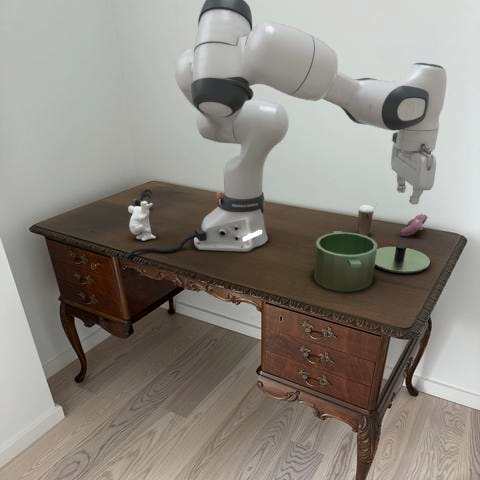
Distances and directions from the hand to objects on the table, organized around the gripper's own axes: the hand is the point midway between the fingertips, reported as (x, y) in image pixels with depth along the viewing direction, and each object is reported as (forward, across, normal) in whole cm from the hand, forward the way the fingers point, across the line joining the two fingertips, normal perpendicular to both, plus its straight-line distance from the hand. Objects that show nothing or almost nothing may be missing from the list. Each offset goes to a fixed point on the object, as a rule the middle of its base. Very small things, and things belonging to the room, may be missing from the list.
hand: (406, 197), depth 118 cm
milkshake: (+18, +19, +4) cm, 26 cm away
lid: (+17, -2, 0) cm, 17 cm away
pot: (+17, -9, +17) cm, 26 cm away
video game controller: (+18, +18, -11) cm, 28 cm away
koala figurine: (+18, +23, +72) cm, 77 cm away
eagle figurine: (+18, +51, +76) cm, 93 cm away
